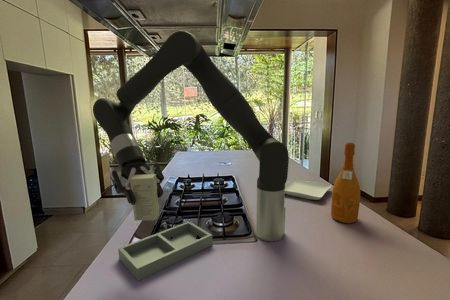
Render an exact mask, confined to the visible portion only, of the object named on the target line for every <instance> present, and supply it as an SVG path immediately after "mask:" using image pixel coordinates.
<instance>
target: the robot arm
mask: <svg viewBox="0 0 450 300" xmlns="http://www.w3.org/2000/svg"><path fill="white" fill-rule="evenodd" d="M182 66H183V67H185V68H186V69H187V70H188V72H189V73H190V74H191V75H192V76H193V77H194V78H195V80H196V81H197V82H198V83H199V86H201V88H202V90H203V92H204V93H205V96H206V97H207V99H208V100H209V102H210V104H211V105H212V107H213V108H214V109H215V110H216V112H217V113H218V114H219V116H221V117H222V119H224V121H225V122H226V123H227V124H228V125H229V126H230V127H231V128H232V129H234V131H236V132H237V133H238V134H239V135H240V136H241V137H242V138H243V139H244V140H245V142H246V143H247V144H248V146H249V147H250V148H251V150H252V152H253V153H254V155H255V156H256V157H255V158H257V160H258V161H259V169H258V172H259V173H258V177H257V178H256V212H255V213H256V215H255V216H256V219H255V220H256V221H255V222H256V223H255V236H257V238H258V239H260V240H262V241H266V242H278V241H279V240H283V237H284V234H285V231H286V207H285V195H286V194H285V184H286V183H287V182H288V181H287V180H288V174H289V161H290V156H289V150H288V148H287V146H286V145H285V144H284V143H283V142H281V141H280V140H277V139H276V138H275V137H274V136H273V135H272V134H271V133H270V132H269V131H268V130H267V129H266V128H265V127H264V126H263V125H262V124H261V122H260V121H259V119H258V117H257V115H256V114H255V112H254V110H253V108H252V106H251V105H250V103H249V102H248V101H247V99H246V98H245V97H244V95H243V93H242V92H241V91H240V90H239V89H238V88H237V87H236V86H235V85H234V83H233V82H232V81H231V80H230V78H228V76H226V75H225V74H224V73H223V72H222V71H221V69H219V67H217V65H216V64H215V62H213V60H212V59H211V57H210V56H209V55H208V53H207V52H206V50H205V48H204V47H203V45H202V44H201V41H199V39H198V38H197V36H196V35H194V34H193V33H190V32H189V31H186V30H176V31H174V32H172V33H171V34H170V35H169V36H168V38H167V39H165V41H164V43H163V44H162V45H161V46H160V48H159V49H158V50H157V52H156V53H154V55H153V56H152V57H151V58H150V60H149V61H148V62H147V63H146V64H145V65H144V66H142V68H140V69H139V70H138V71H137V72H136V73H135V74H133V75H132V76H131V77H130V78H128V80H126V81H125V83H123V84H122V85H121V86H120V87H119V88H118V89H117V90H116V97H117V99H118V101H119V102H116V101H113V100H112V99H109V98H107V97H106V98H104V97H102V98H98V99H97V100H95V102H94V103H93V105H92V106H93V107H92V115H93V117H94V118H95V120H96V122H97V124H98V125H99V126H100V127H101V128H102V130H103V131H104V132H105V133H106V134H107V135H106V136H107V137H108V141H109V143H110V145H111V148H112V149H111V150H112V153H113V156H114V157H115V160H116V163H117V165H118V168H119V171H116V170H112V171H111V174H110V180H111V182H112V185H113V188H114V190H115V192H116V194H118V195H119V194H124V195H125V197H126V200H127V202H128V204H130V205H132V206H133V205H135V203H136V199H135V197H134V194H133V192H132V190H131V182H130V179H131V178H132V177H133V176H134V175H143V174H156V179H157V191H158V199H159V198H162V197H163V195H164V190H163V187H162V185H161V184H162V183H163V181H164V180H165V176H164V174H163V172H162V169H161V167H160V165H159V163H157V162H155V163H154V164H152V165H149V164H148V163H147V162H146V157H145V156H144V153H143V151H142V149H141V147H140V144H139V143H138V141H137V139H136V137H135V136H134V135H135V134H133V131H132V129H131V127H130V125H129V124H128V122H126V121H127V120H128V118H130V116H131V114H132V112H133V111H134V109H135V108H136V106H137V105H138V104H139V103H141V102H142V101H143V100H144V99H145V98H146V97H148V96H149V95H150V94H151V93H152V92H153V90H155V88H156V87H157V86H158V85H159V84H160V82H161V81H162V80H163V79H165V77H167V76H168V75H169V74H171V73H172V72H173V71H175V70H176V69H179V68H181V67H182ZM150 171H151V172H150ZM121 177H122V178H123V179H125V180H126V183H125V185H124V186H123V184H122V181H121Z"/></svg>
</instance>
